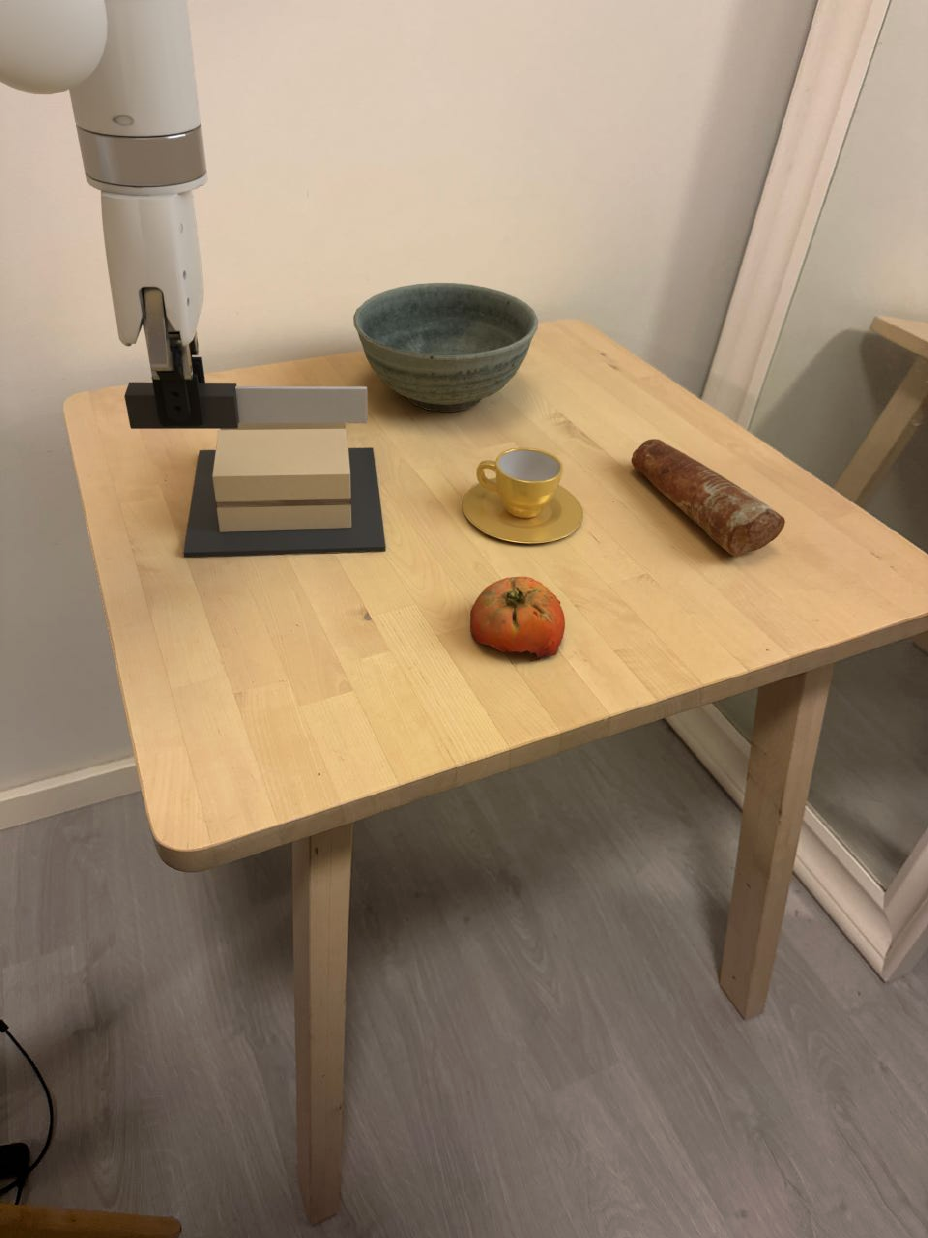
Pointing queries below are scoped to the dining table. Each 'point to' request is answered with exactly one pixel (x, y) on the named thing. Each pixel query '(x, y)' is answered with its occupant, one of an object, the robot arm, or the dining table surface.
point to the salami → (709, 498)
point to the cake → (284, 495)
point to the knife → (255, 405)
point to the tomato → (518, 617)
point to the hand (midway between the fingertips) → (184, 413)
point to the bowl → (445, 341)
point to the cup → (522, 498)
